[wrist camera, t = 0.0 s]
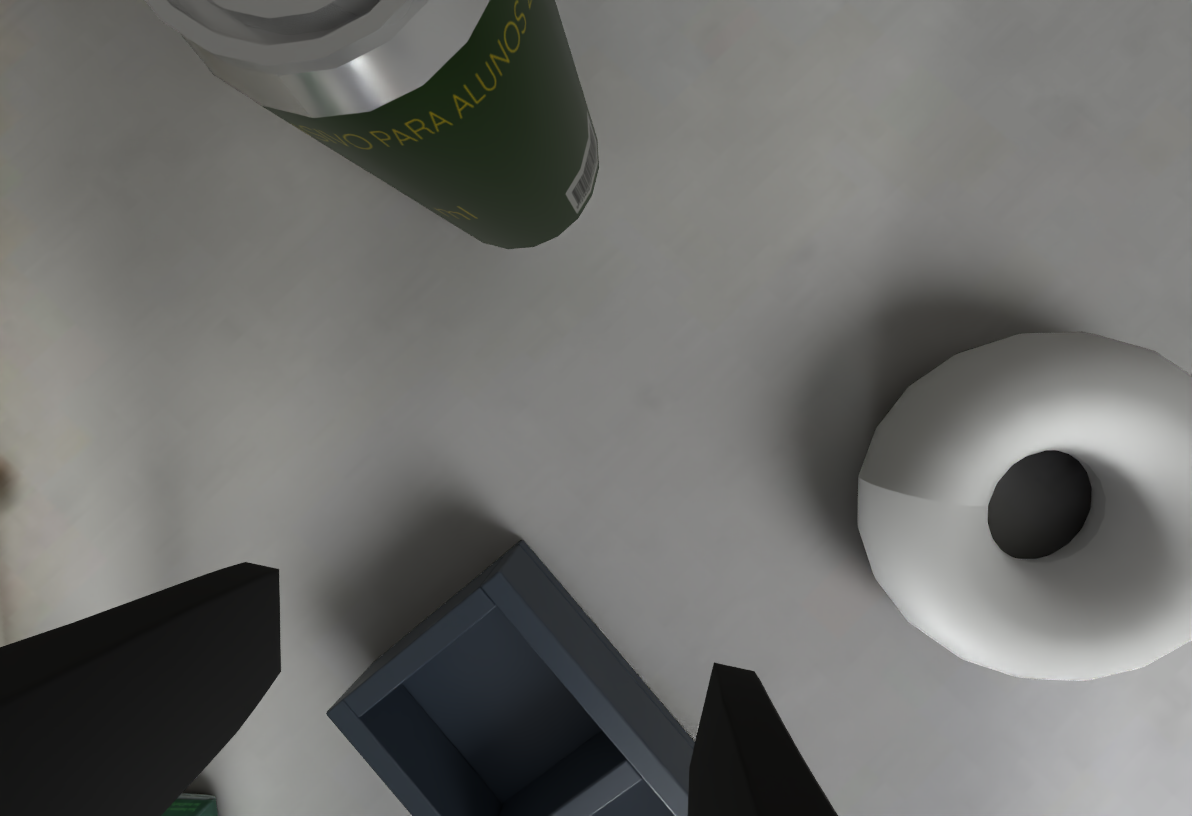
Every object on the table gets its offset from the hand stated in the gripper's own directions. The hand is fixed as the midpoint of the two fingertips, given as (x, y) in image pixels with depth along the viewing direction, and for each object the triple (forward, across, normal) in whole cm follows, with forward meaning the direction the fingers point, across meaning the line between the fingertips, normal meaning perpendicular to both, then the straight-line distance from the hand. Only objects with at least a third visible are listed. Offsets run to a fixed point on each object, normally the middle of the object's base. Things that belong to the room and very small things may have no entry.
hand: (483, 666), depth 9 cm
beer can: (+12, +4, -9) cm, 15 cm away
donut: (+11, -13, -1) cm, 17 cm away
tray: (+8, -4, +13) cm, 16 cm away
